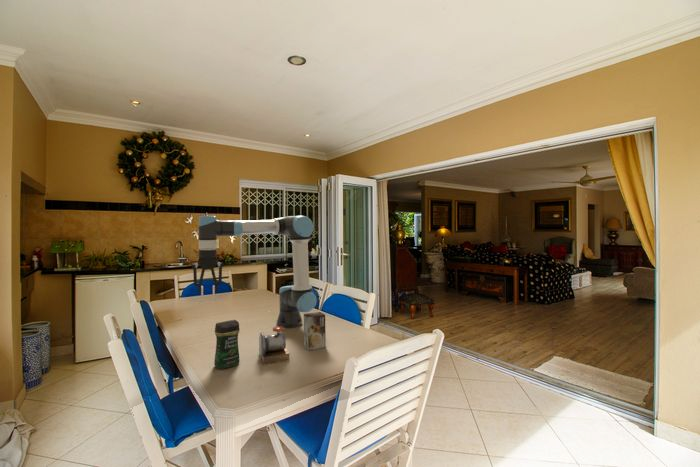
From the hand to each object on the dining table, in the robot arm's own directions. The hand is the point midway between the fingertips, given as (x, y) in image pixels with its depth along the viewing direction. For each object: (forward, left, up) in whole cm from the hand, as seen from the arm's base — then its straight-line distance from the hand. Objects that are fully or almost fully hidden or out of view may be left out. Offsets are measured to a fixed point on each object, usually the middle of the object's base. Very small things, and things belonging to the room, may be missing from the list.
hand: (208, 300), depth 146 cm
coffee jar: (-7, +17, -25) cm, 31 cm away
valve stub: (-26, +17, -25) cm, 40 cm away
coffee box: (-47, +13, -25) cm, 55 cm away
